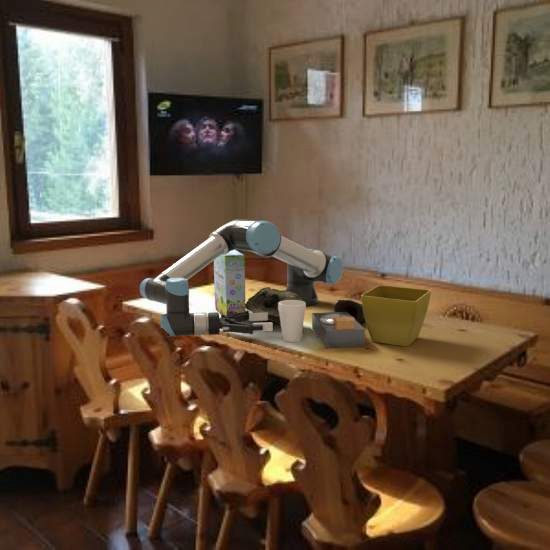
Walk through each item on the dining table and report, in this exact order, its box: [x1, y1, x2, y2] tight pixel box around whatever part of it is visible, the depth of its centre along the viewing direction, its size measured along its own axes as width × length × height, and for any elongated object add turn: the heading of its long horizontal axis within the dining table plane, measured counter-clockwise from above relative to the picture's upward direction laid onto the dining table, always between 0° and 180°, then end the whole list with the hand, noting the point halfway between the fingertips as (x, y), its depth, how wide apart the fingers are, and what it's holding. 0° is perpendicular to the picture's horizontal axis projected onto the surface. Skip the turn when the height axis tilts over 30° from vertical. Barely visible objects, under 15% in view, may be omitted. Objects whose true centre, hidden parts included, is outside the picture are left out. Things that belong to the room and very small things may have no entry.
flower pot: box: [360, 284, 432, 347], centre depth 210 cm, size 19×19×17 cm
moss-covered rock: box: [245, 286, 303, 326], centre depth 233 cm, size 28×13×15 cm
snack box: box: [213, 250, 247, 316], centre depth 246 cm, size 22×9×26 cm, turn 18°
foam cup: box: [278, 300, 307, 343], centre depth 211 cm, size 10×9×13 cm
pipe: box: [333, 299, 366, 324], centre depth 237 cm, size 10×15×15 cm
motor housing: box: [311, 311, 366, 349], centre depth 214 cm, size 24×13×9 cm, turn 8°
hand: (270, 321), depth 210 cm, fingers open, 13 cm apart
